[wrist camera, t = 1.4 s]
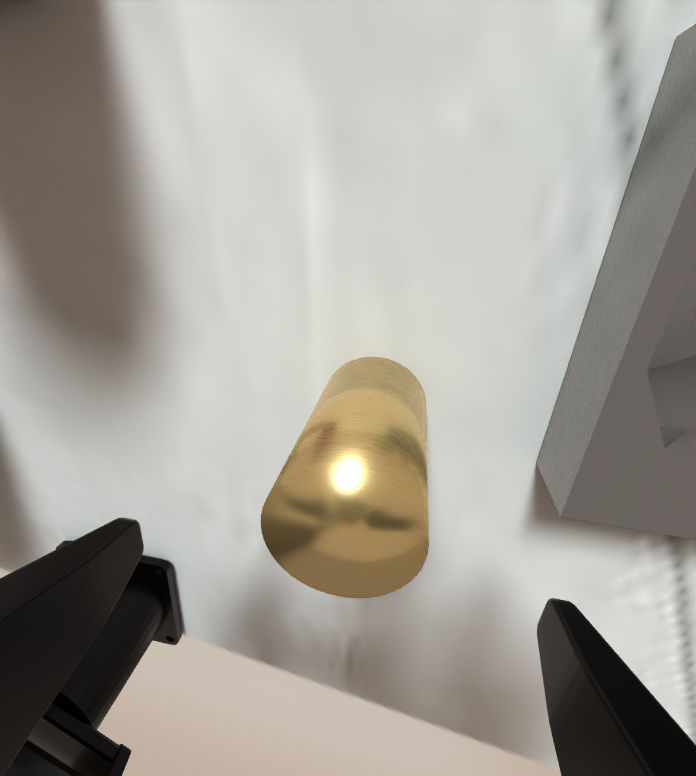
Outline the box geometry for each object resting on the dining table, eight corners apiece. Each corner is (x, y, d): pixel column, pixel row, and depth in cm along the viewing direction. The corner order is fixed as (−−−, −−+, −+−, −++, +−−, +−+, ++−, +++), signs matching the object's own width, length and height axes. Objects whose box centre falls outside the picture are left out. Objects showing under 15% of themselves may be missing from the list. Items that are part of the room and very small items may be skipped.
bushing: (417, 455, 16) (415, 611, 10) (321, 440, 17) (262, 580, 11) (433, 364, 15) (442, 483, 8) (326, 350, 15) (259, 453, 9)
